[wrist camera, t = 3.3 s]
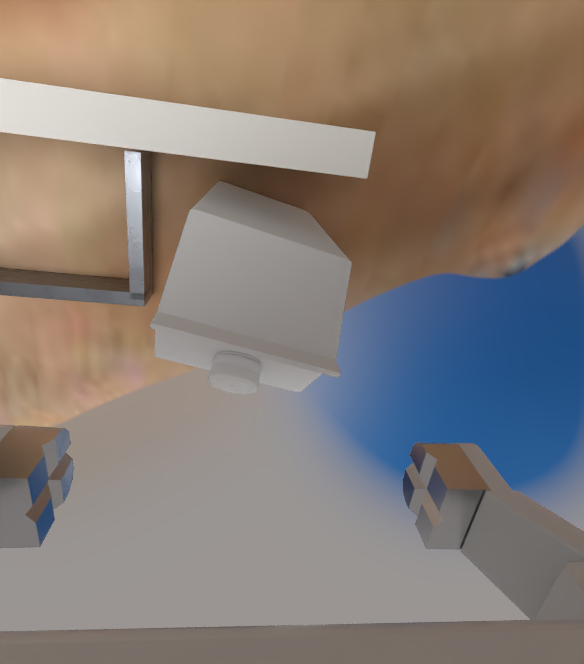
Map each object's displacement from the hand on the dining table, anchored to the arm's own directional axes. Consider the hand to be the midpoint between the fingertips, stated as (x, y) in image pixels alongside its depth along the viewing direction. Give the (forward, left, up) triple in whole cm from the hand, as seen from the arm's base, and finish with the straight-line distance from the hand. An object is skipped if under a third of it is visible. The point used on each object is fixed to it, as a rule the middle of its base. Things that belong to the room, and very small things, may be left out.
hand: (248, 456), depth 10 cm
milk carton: (0, 0, -25) cm, 25 cm away
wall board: (+8, -7, -24) cm, 27 cm away
